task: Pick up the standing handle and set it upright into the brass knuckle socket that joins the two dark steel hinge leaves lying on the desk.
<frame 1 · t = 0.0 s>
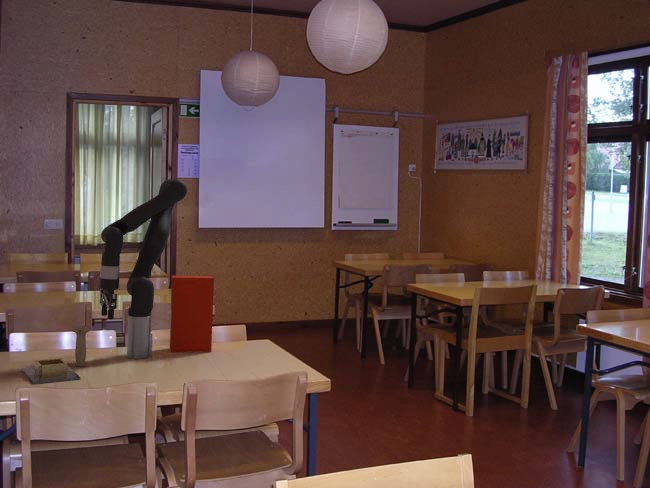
hand: (107, 317, 292), 17 cm above the table, tool pointing down, fingers open, 8 cm apart
red rectangular box: (190, 350, 317), on the table
hinge base: (50, 374, 268), on the table
handle: (80, 366, 282), on the table
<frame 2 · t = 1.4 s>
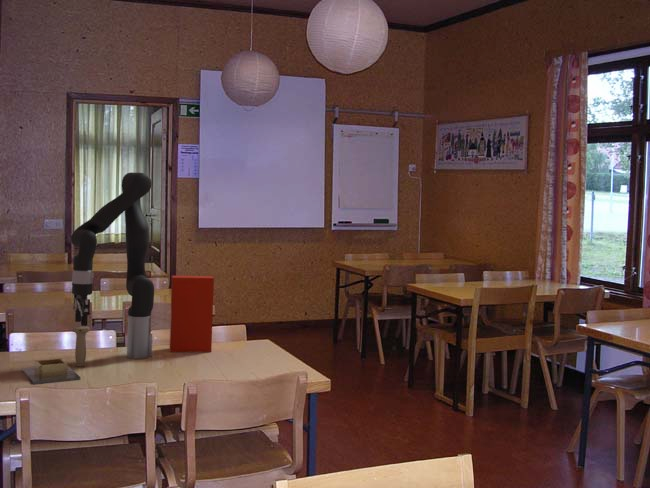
hand: (81, 323, 281), 16 cm above the table, tool pointing down, fingers open, 8 cm apart
nothing on the table moved.
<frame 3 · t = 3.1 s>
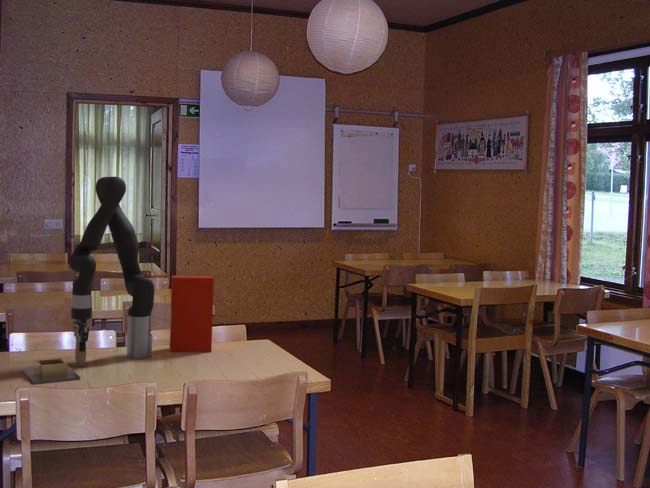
hand: (80, 349, 282), 6 cm above the table, tool pointing down, fingers closed on handle, 4 cm apart
handle: (80, 366, 282), on the table, touching gripper
everything else where it was.
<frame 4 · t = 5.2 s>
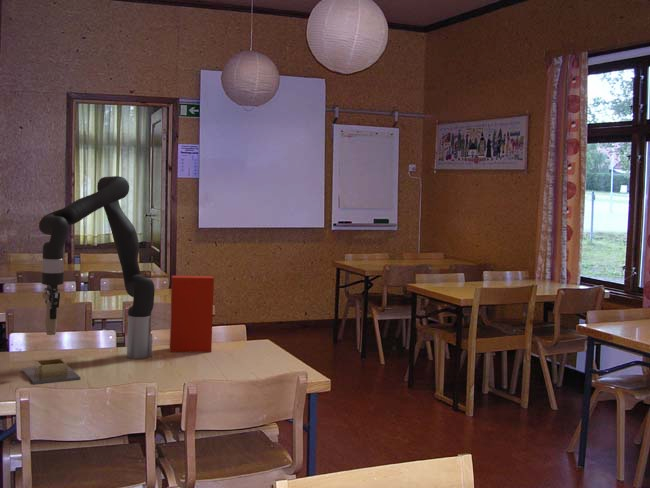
hand: (51, 317, 266), 21 cm above the table, tool pointing down, fingers closed on handle, 4 cm apart
handle: (51, 335, 267), point 15 cm above the table, touching gripper
everything else where it was.
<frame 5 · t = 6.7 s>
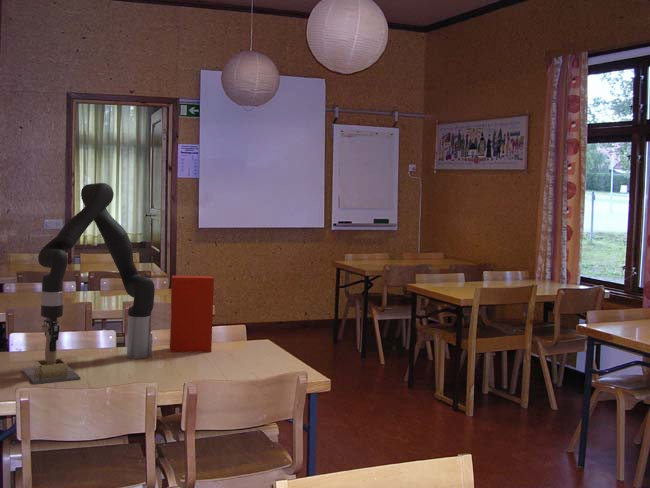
hand: (51, 349, 267), 9 cm above the table, tool pointing down, fingers closed on handle, 4 cm apart
handle: (50, 367, 268), point 3 cm above the table, touching gripper
everything else where it was.
when the fingers open (8 cm above the table, at t = 7.3 s): handle drops 1 cm, resting on hinge base.
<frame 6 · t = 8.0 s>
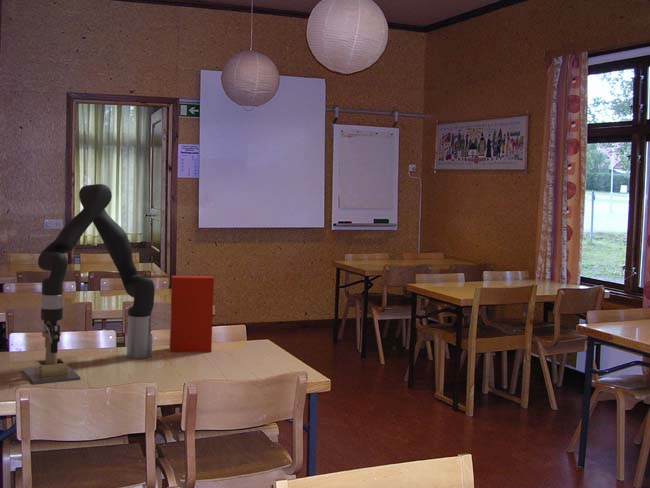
hand: (51, 350, 267), 9 cm above the table, tool pointing down, fingers open, 8 cm apart
handle: (50, 373, 268), point 1 cm above the table, touching hinge base
everything else where it was.
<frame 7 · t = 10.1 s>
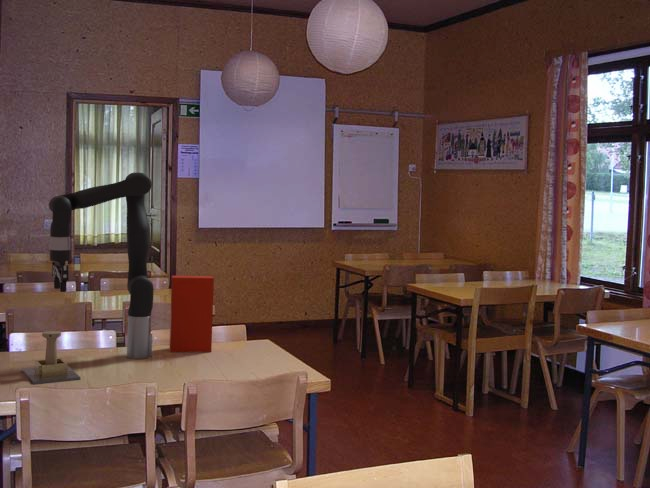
hand: (60, 290, 282), 29 cm above the table, tool pointing down, fingers open, 8 cm apart
nothing on the table moved.
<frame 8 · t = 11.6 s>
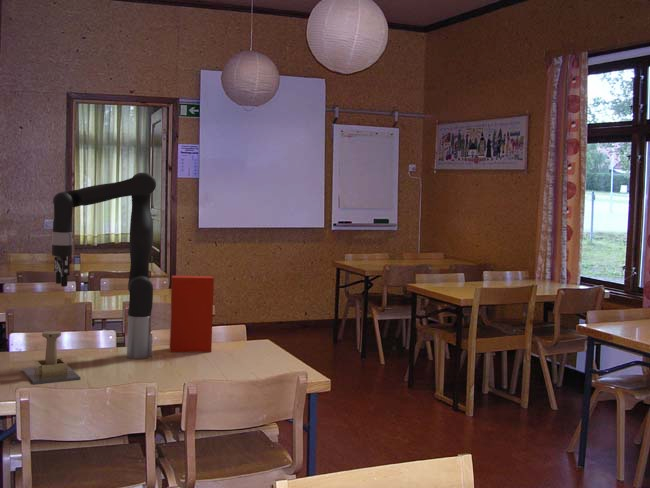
hand: (61, 284, 286), 30 cm above the table, tool pointing down, fingers open, 8 cm apart
nothing on the table moved.
at the end: handle inside the target area on the hinge base (0.0 cm from its centre), point 0.6 cm above the hinge base's base; handle tilted 0°; the gripper is holding nothing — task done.
